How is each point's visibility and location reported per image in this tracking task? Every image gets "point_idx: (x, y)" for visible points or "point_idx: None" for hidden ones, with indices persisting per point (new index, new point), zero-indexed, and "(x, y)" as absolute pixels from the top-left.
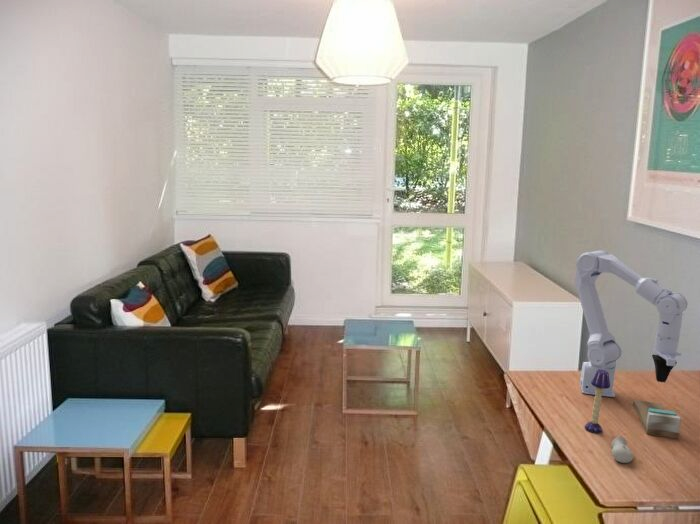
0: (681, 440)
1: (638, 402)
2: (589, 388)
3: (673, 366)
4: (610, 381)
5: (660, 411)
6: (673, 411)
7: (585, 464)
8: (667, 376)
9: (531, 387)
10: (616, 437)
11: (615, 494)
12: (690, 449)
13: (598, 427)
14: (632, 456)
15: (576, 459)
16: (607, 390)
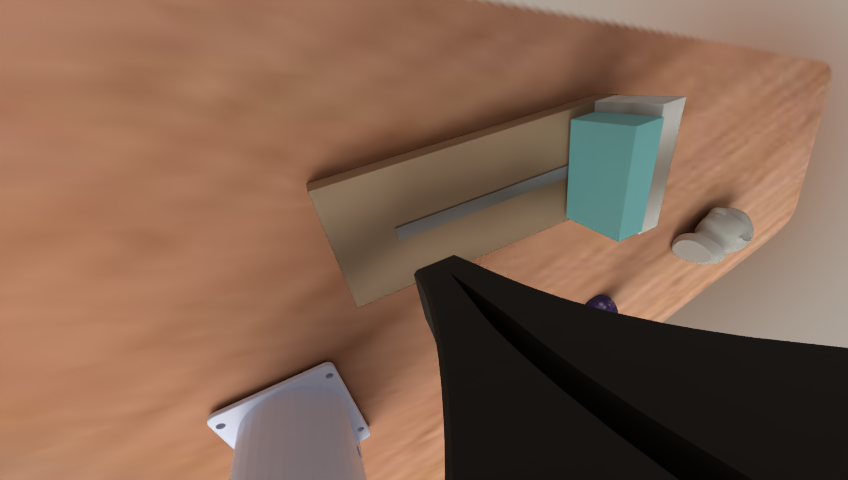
0: (606, 79)
1: (377, 283)
2: (354, 441)
3: (738, 341)
4: (330, 445)
5: (643, 192)
6: (636, 134)
7: (713, 271)
8: (504, 278)
9: None
10: (716, 262)
11: (787, 207)
12: (660, 48)
13: (615, 308)
14: (740, 210)
15: (700, 288)
16: (333, 405)
